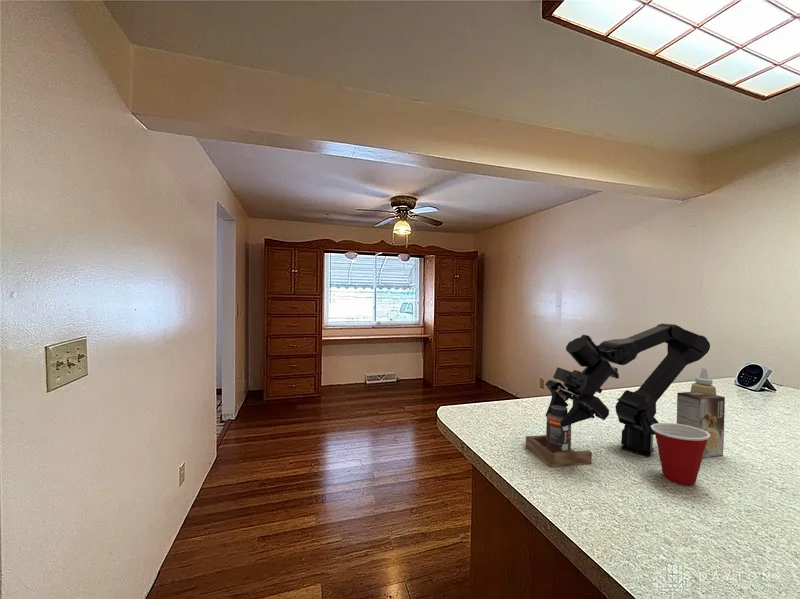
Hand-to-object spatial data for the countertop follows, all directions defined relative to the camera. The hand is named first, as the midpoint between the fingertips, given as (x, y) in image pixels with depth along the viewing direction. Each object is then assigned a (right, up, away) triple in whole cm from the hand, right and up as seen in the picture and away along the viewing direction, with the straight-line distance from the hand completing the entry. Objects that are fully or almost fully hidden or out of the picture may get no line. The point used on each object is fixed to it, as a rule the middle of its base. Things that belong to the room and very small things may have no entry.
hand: (553, 421), depth 91 cm
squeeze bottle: (+68, -11, +33) cm, 77 cm away
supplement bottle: (+1, -8, 0) cm, 8 cm away
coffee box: (+43, -11, +5) cm, 44 cm away
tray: (+1, -9, 0) cm, 9 cm away
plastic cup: (+24, -10, -10) cm, 28 cm away
